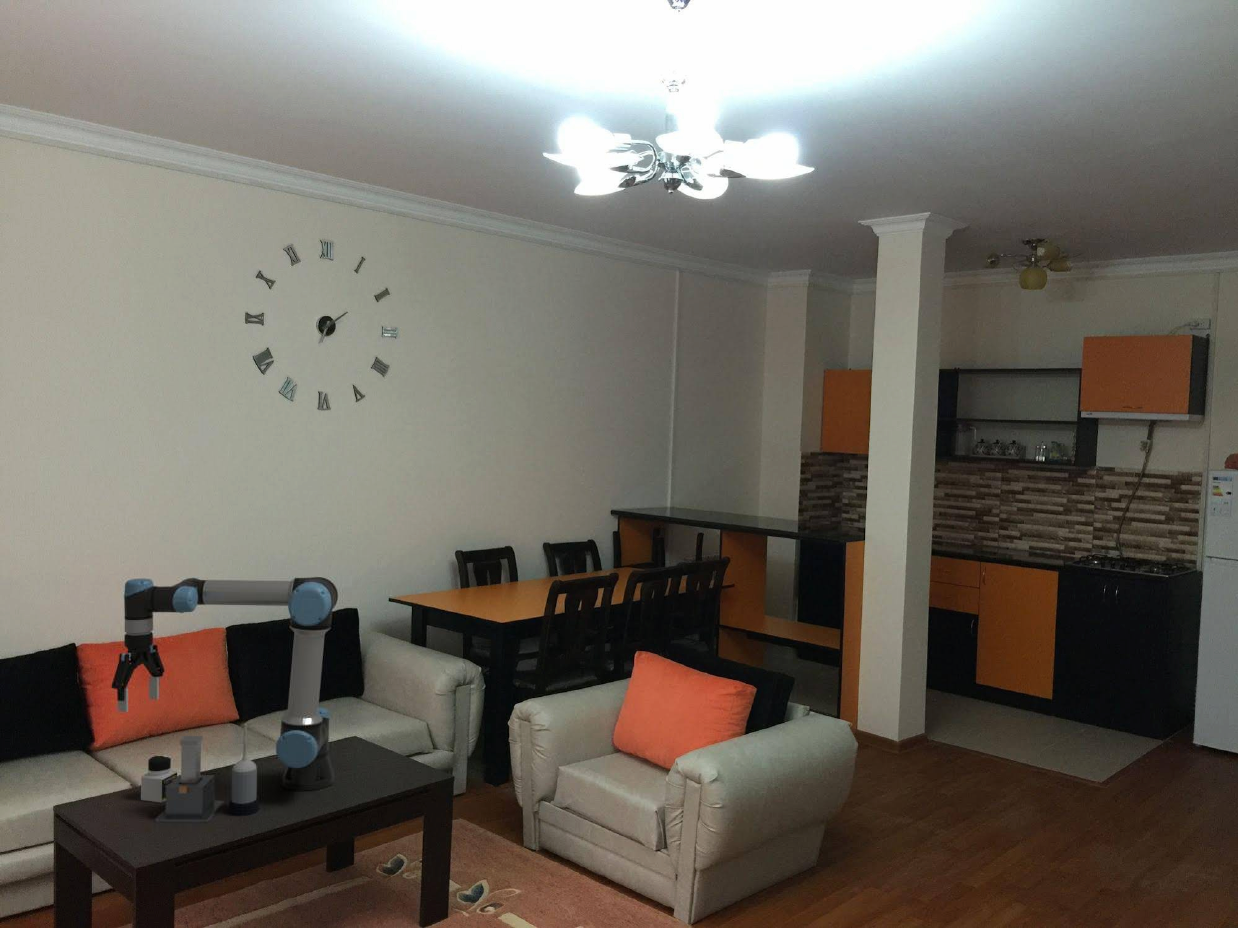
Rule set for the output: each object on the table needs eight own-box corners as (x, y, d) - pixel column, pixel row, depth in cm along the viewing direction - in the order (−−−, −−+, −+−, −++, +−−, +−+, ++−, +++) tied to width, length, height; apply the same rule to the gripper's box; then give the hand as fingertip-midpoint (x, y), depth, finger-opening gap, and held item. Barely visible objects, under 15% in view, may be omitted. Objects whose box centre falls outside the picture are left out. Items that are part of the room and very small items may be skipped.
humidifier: (260, 804, 299) (262, 719, 298) (256, 815, 291) (258, 727, 290) (231, 805, 297) (232, 720, 296) (226, 816, 289) (227, 728, 288)
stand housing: (223, 803, 299) (224, 771, 298) (207, 822, 285) (207, 788, 284) (174, 803, 298) (174, 771, 297) (155, 821, 284) (155, 788, 283)
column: (201, 809, 294) (202, 735, 293) (195, 815, 289) (196, 740, 288) (184, 808, 293) (185, 735, 292) (179, 815, 289) (180, 740, 288)
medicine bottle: (162, 802, 298) (162, 761, 297) (140, 800, 299) (140, 759, 299) (177, 794, 305) (178, 754, 304) (156, 791, 306) (156, 752, 306)
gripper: (154, 623, 311) (155, 693, 312) (97, 640, 286) (97, 715, 287) (177, 625, 309) (177, 694, 310) (121, 642, 285) (121, 717, 286)
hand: (138, 705), depth 299 cm, fingers open, 13 cm apart
